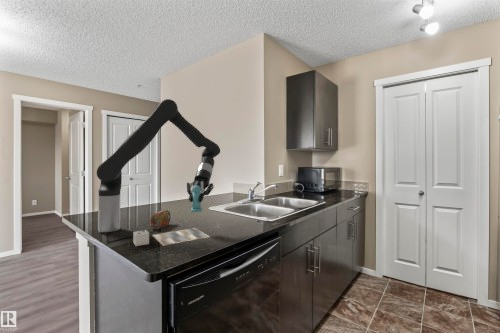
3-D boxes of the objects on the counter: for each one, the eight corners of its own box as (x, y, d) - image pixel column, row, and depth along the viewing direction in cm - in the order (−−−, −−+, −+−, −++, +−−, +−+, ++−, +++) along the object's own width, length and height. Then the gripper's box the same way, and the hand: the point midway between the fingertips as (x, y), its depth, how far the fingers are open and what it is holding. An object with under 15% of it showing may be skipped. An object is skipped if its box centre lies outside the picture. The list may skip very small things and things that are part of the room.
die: (135, 247, 96) (135, 234, 96) (133, 243, 100) (133, 231, 100) (149, 245, 99) (149, 232, 99) (146, 241, 103) (146, 229, 103)
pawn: (193, 212, 111) (193, 186, 111) (189, 210, 115) (189, 185, 115) (204, 211, 114) (204, 185, 114) (199, 209, 118) (199, 184, 118)
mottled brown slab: (154, 231, 117) (155, 214, 117) (149, 231, 118) (149, 214, 118) (171, 224, 132) (171, 208, 132) (165, 223, 133) (165, 208, 132)
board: (163, 246, 97) (163, 245, 97) (151, 235, 111) (151, 234, 111) (210, 237, 110) (210, 236, 110) (194, 228, 123) (194, 227, 123)
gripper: (188, 168, 122) (178, 195, 111) (215, 168, 120) (207, 196, 109) (192, 178, 128) (182, 205, 116) (218, 178, 126) (211, 206, 114)
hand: (195, 201), depth 112 cm, fingers closed on pawn, 3 cm apart
